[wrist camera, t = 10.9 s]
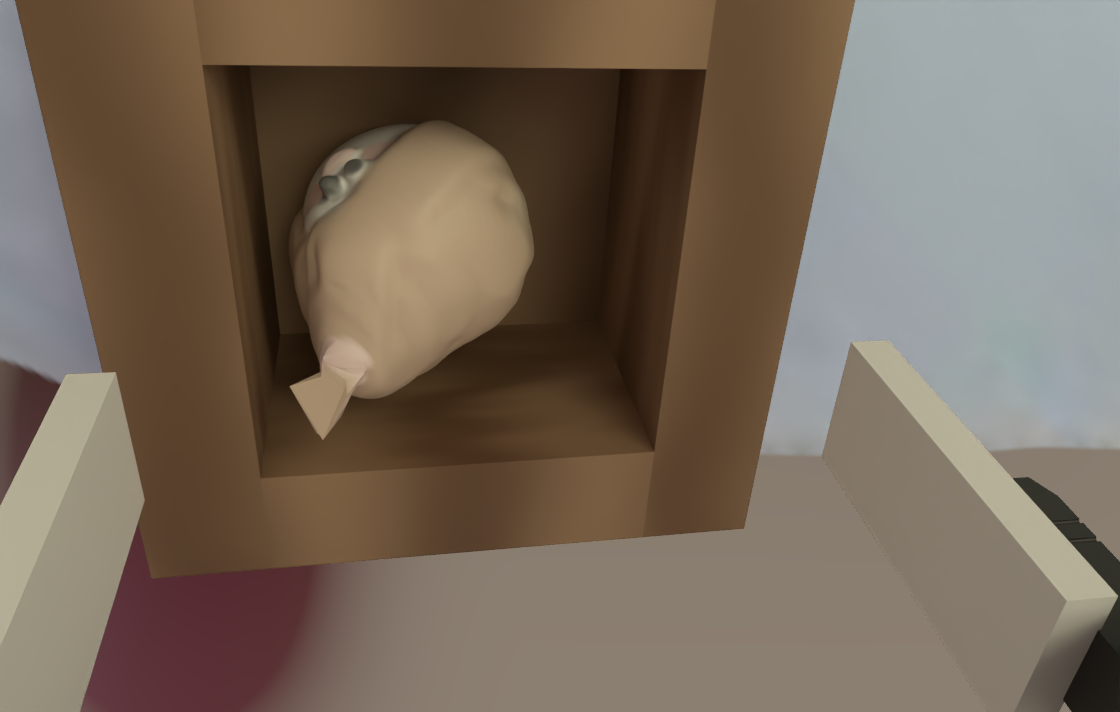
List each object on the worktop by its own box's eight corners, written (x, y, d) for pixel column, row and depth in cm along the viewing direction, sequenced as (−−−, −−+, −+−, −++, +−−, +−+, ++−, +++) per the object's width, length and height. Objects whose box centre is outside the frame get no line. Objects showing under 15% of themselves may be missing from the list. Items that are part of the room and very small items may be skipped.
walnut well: (736, -124, 25) (872, -83, 19) (667, 376, 34) (743, 528, 27) (97, -155, 22) (-14, -120, 16) (196, 401, 31) (151, 578, 24)
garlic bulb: (263, 112, 25) (213, 262, 19) (498, 66, 25) (529, 199, 19) (335, 315, 29) (315, 496, 23) (538, 274, 29) (576, 443, 23)
